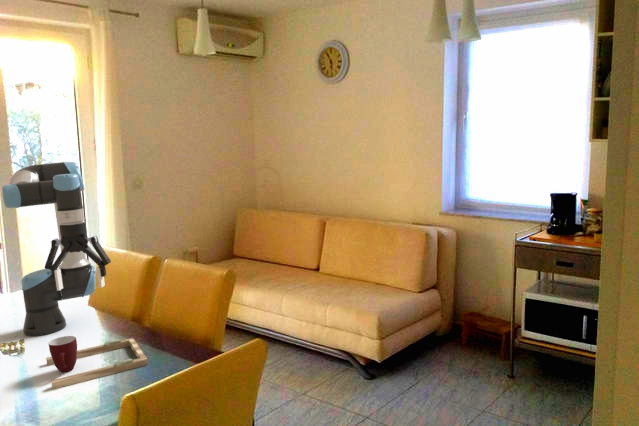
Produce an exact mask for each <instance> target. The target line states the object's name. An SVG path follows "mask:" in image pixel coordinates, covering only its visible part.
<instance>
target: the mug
mask: <svg viewBox="0 0 639 426" xmlns="http://www.w3.org/2000/svg"><path fill="white" fill-rule="evenodd" d="M48 348H49V352H50V355H51V356H50V357H52V359H53V362H54V364H53V365H54V366H55V368H56V369H57V370H58V371H59V373H63V374H64V373H69V372H71V371H73V370H74V368H75V366H76V363H77V360H78V358H77V351H78V342H77V337H76V336H73V335H65V336H60V337H57V338H54V339H52V340H50V341H49V342H48Z"/></svg>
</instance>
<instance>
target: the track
mask: <svg viewBox="0 0 639 426" xmlns="http://www.w3.org/2000/svg"><path fill="white" fill-rule="evenodd" d="M126 347H130V349H131V350H132V352H133V353H134V355H135V357H137V358H134V359H132V358H128V359H123V360H121V361H120V360H119V361H117V362H115V363H114V364H110V365H107V366H103V367H99V368H95V369H91V370H87V371H83V372H81V373H76V374H72V375H67V376H63V377H60V378H55V379H52V380H51V388H52V390H55V389H58V388H59V389H60V388H63V387H67V386H70V385H75V384H78V383H82V382H86V381H89V380H94V379H97V378H101V377H105V376H109V375H113V374H117V373H120V372H124V371H129V370H131V369H133V370H134V369H136V368H140V367H143V366H147V365H148V364H149V363H148V358H147V356H146V355H145V354H144V351H143V350H142V349H141V348H140V346H139V344H138V343H137V342H136V340H135V339H134V337H130V338H126V339H119V338H117V339H115V340H110V341H107V342H106V341H105V342H104V344H100V345H97V346H92V347H86V348H83V349H79V350H78V349H77V359H81V358H85V357H88V356H89V357H90V356H93V355H98V354H101V353H102V354H103V353H105V352H110V351H114V350H118V349H122V348H126ZM45 360H46V365H47V366H51V365H52V366H53V365H55V364H54V362H53V359H52V356H49V357H46V358H45Z"/></svg>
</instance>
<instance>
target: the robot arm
mask: <svg viewBox="0 0 639 426" xmlns="http://www.w3.org/2000/svg"><path fill="white" fill-rule="evenodd" d="M1 189H2V190H1V191H2V199H3V203H4V207H5V208H7V209H15V208H16V209H20V208H24V207H32V206H40V205H49V204H50V205H51V204H54V210H55V211H54V213H55V217H56V219H55V220H56V224H57V232H58V238H59V239H58V238H54V239H52V240H51V244H50V245H51V246H50V251H49V254H48V256H47V259H46V261H45V264H44V268H41V269H39V270H35V271H33V272H30V273H27V274H25V275H24V276H23V277H22V278H21V291H22V294H23V300H24V301H23V302H24V308H25V318H24V323H23V328H22V329H23V334H24V335H25V336H29V337H36V336H45V335H50V334H52V333H57V332H58V331H60V330H63V329H64V328H65V327H66V326H67V322H66V318H65V316H64V315H63V313H62V310H61V309H60V305H59V302H60V301H65V300H71V299H77V298H81V297H82V298H85V297H87V296H91V295H93V294H94V293H95V292H96V286H97V285H96V282H97V281H96V277H97V280H98V287H99V289H101V288H104V287H105V286H106V283H105V277H106V276H107V270H106V266H107V265H109V264H110V263H111V259H110V257H109V256H108V255H107V253H106V251H105V250H104V248H103V247H102V246H101V243H100V242H99V238H98V235H94V236H91V237H88V235H87V228H86V222H85V220H86V219H85V213H84V211H85V210H84V207H83V199H82V198H83V197H82V192H83V191H84V190H85V186H84V180H83V178H82V173H81V170H80V167H79V165H78V164H77V162H75V161H74V162H73V161H60V162H51V163H42V164H38V163H37V164H32V165H29V166H25V167H22V168H21V169H19V170H17V171H16V172H14V173H13V174H12V175H11V177H10V181H9V184H5V185H3V186H2V188H1ZM88 243H89V244H91V245H92V247H93V249H94V250H95V252H94V250H93V249H91V247H90V246H89V244H88ZM59 247H60V254H59V255H58V257H57V258H56V255H57V252H58V250H59ZM86 256H87V257H88V258H89V259H90V260H92V261H93V262H94V264H96V265H97V266H98V267H95V265H91V261H90V260H88V259H87V257H86ZM55 258H56V259H55ZM54 260H55V261H54ZM96 272H97V275H96Z"/></svg>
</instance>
